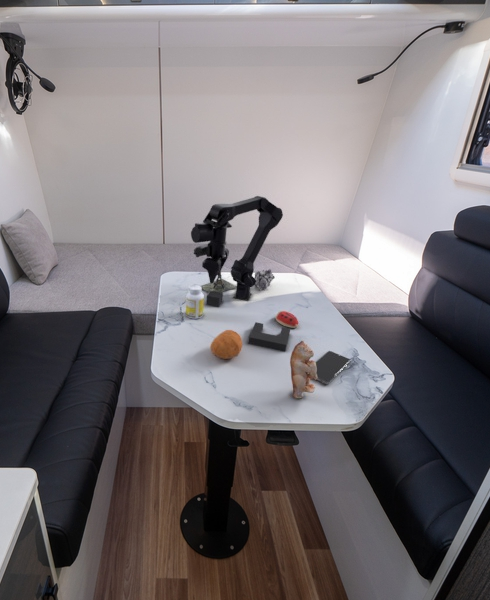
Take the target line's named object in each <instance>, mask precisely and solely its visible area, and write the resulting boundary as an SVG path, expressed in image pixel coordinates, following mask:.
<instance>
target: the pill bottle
mask: <svg viewBox="0 0 490 600" xmlns="http://www.w3.org/2000/svg"><path fill="white" fill-rule="evenodd" d="M201 286H202V285H199V284H191V285H189V286H188V292H187V293H186V295H185V315H186V317H187V318H189V319H194V320H195V319H196V320H197V319H200V318H202V317H203V316H204V302H205V301H204V300H205V295H204V293H203V292H202V291H203V289H202V287H201Z"/></svg>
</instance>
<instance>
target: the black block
mask: <svg viewBox="0 0 490 600" xmlns="http://www.w3.org/2000/svg"><path fill="white" fill-rule="evenodd" d="M223 297H224V292H214V291H210V292H208V294H207V295H206V303H205V304H206V306H211V307H216V308H219V307H220V306H221V305H222V304H223Z"/></svg>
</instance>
